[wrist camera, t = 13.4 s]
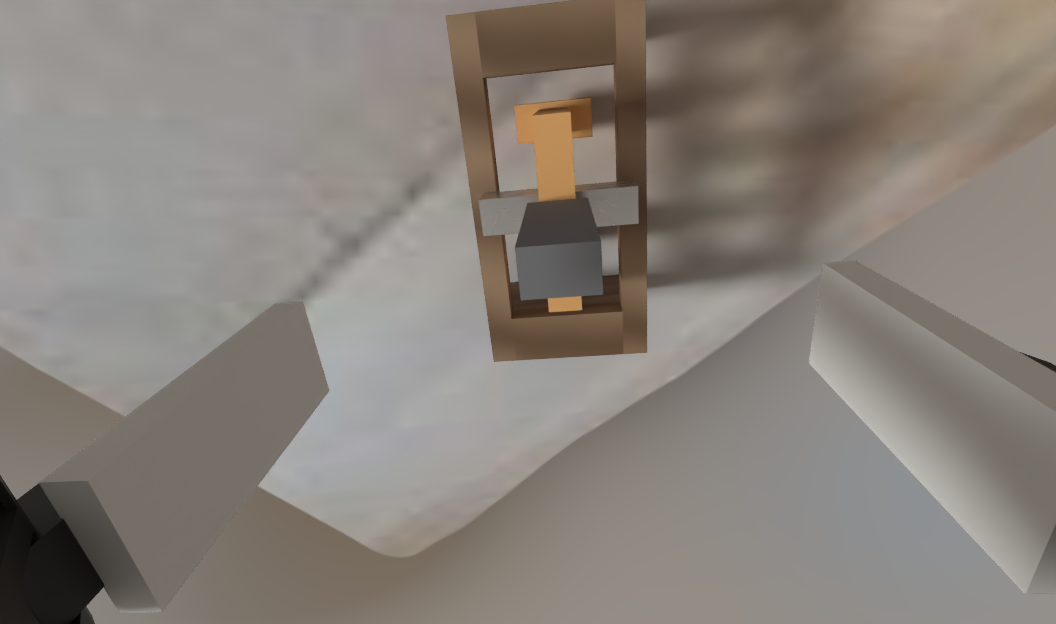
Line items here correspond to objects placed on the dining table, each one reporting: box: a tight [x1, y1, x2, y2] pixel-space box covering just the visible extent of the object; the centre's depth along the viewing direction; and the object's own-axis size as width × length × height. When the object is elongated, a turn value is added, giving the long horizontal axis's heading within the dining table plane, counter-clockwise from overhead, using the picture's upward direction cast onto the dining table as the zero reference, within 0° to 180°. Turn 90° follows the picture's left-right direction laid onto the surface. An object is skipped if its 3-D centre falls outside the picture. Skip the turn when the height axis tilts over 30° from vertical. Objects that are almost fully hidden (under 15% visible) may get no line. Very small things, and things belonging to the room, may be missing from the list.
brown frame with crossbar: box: [446, 0, 647, 362], centre depth 34 cm, size 20×10×11 cm, turn 5°
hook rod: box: [479, 180, 639, 236], centre depth 28 cm, size 2×8×2 cm, turn 95°
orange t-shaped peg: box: [514, 98, 603, 312], centre depth 27 cm, size 11×5×20 cm, turn 5°
